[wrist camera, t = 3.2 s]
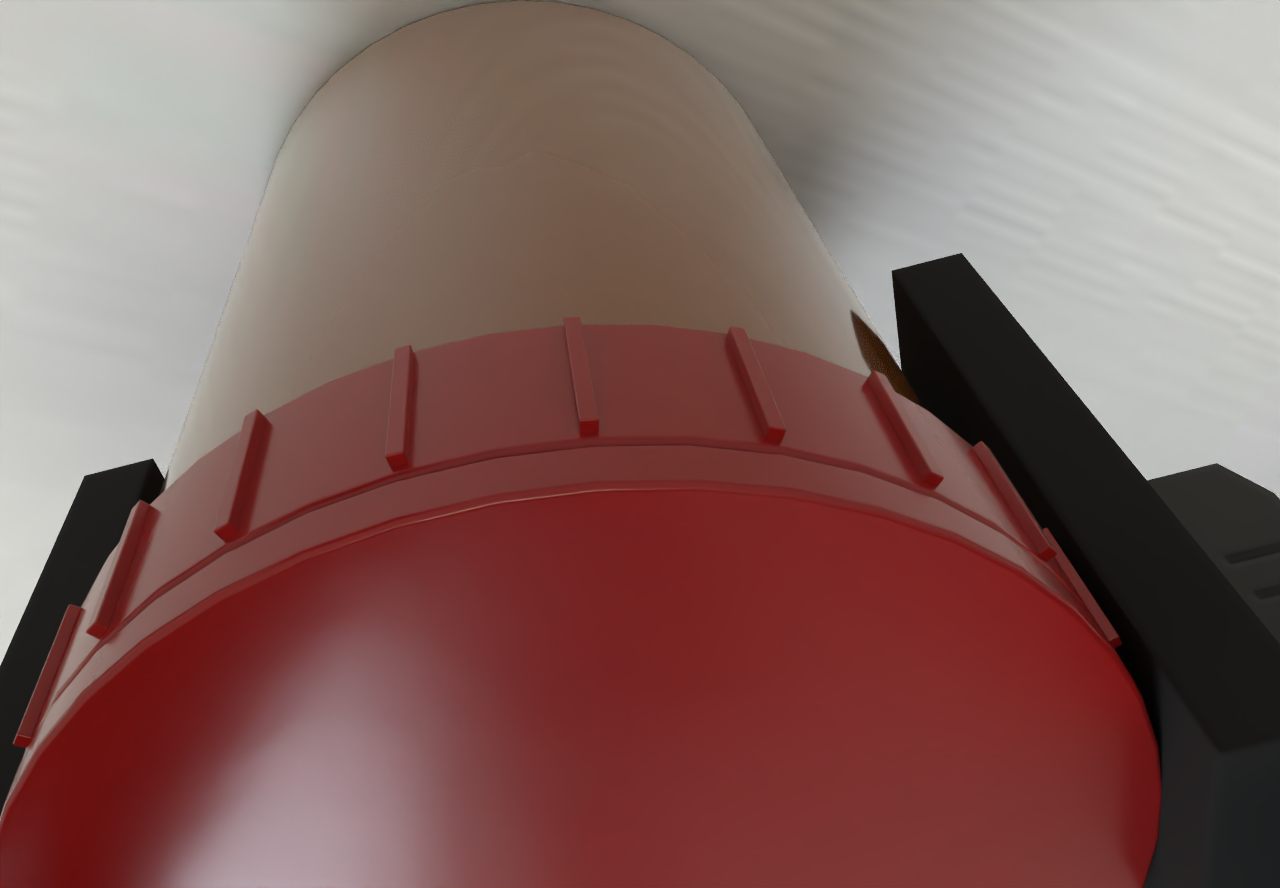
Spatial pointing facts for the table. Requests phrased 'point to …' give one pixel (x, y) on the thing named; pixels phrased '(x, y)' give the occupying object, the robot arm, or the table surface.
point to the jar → (516, 212)
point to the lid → (587, 645)
